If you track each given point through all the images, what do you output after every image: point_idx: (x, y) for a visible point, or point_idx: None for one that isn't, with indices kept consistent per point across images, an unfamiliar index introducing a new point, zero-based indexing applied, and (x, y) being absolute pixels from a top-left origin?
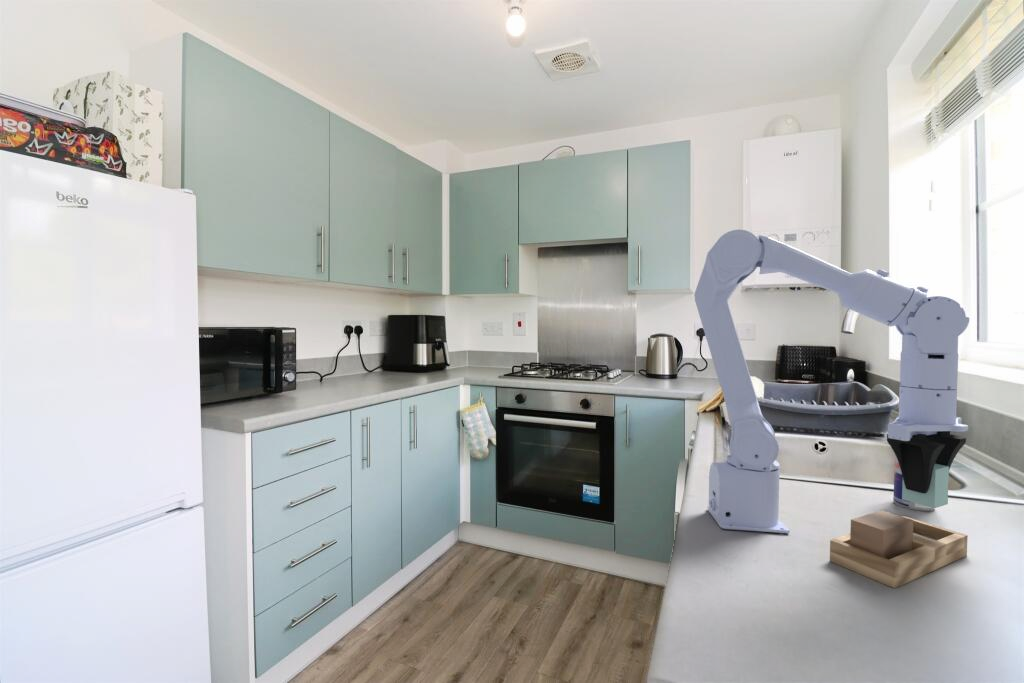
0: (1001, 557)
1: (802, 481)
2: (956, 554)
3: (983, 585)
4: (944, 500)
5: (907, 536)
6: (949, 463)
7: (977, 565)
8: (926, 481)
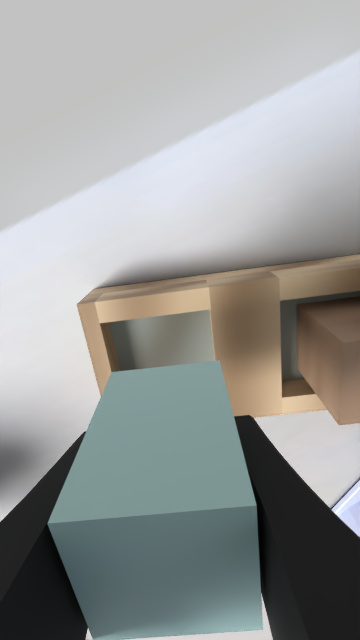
0: (13, 256)
1: None
2: (147, 285)
3: (236, 180)
4: (135, 379)
5: (354, 319)
6: (12, 550)
7: (126, 249)
8: (279, 453)
